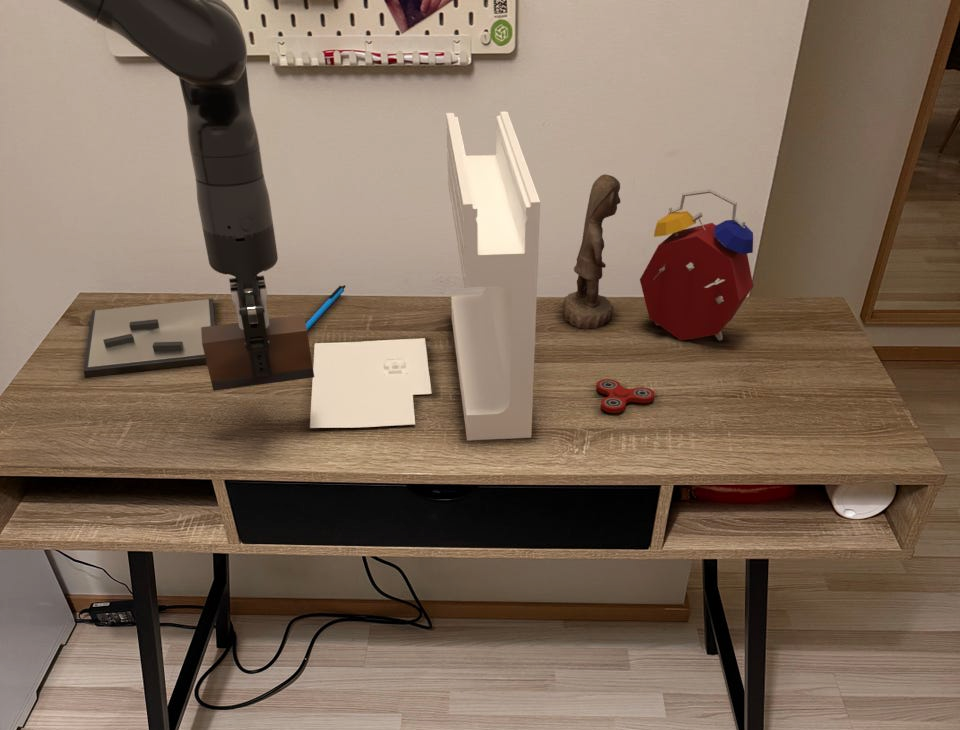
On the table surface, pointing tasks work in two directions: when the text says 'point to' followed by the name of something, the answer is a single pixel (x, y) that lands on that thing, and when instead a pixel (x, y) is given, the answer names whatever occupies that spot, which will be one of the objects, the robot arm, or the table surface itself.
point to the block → (495, 282)
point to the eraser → (233, 359)
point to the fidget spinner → (621, 395)
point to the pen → (325, 306)
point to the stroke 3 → (167, 346)
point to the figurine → (592, 259)
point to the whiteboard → (147, 337)
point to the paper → (368, 383)
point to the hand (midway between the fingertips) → (261, 367)
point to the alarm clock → (697, 273)
